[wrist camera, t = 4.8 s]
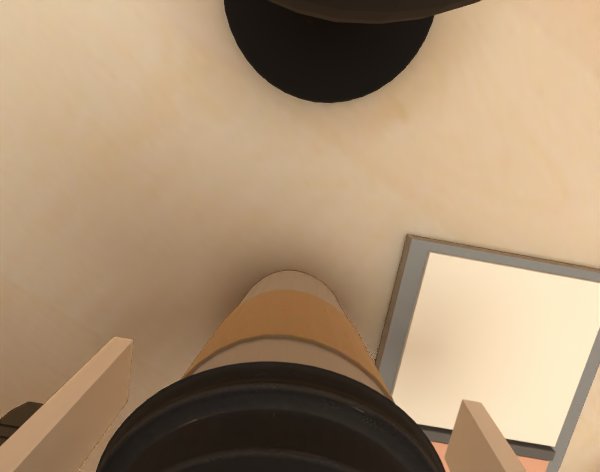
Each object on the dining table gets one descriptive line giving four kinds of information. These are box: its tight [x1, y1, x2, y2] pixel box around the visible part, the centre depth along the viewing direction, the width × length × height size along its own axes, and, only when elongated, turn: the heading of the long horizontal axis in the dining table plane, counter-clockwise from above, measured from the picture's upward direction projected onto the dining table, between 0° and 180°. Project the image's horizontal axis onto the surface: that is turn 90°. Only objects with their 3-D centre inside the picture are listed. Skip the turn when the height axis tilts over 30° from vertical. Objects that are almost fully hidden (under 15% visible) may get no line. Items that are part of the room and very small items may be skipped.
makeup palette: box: [375, 235, 600, 472], centre depth 24 cm, size 12×22×2 cm, turn 170°
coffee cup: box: [96, 271, 446, 472], centre depth 16 cm, size 9×9×15 cm
